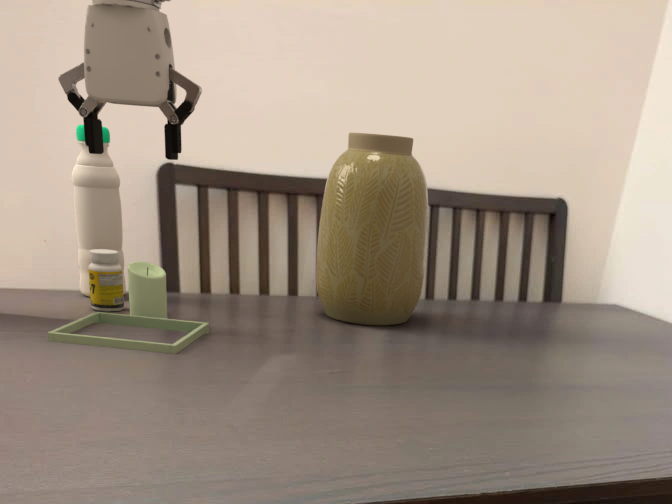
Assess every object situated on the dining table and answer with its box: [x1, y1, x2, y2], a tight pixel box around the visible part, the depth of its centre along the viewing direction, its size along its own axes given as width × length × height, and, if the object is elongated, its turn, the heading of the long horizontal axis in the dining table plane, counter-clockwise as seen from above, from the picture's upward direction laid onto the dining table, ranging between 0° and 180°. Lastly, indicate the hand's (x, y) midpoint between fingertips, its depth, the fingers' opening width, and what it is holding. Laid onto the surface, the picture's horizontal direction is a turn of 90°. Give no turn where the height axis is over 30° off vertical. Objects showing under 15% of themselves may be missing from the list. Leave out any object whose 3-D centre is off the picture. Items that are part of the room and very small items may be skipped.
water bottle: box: [71, 124, 127, 298], centre depth 114 cm, size 7×7×25 cm
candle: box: [127, 260, 168, 319], centre depth 101 cm, size 5×5×8 cm
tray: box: [47, 311, 210, 355], centre depth 90 cm, size 15×13×2 cm
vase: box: [315, 132, 429, 327], centre depth 114 cm, size 17×17×27 cm
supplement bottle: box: [88, 249, 125, 313], centre depth 108 cm, size 5×5×8 cm
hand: (134, 156), depth 92 cm, fingers open, 9 cm apart
